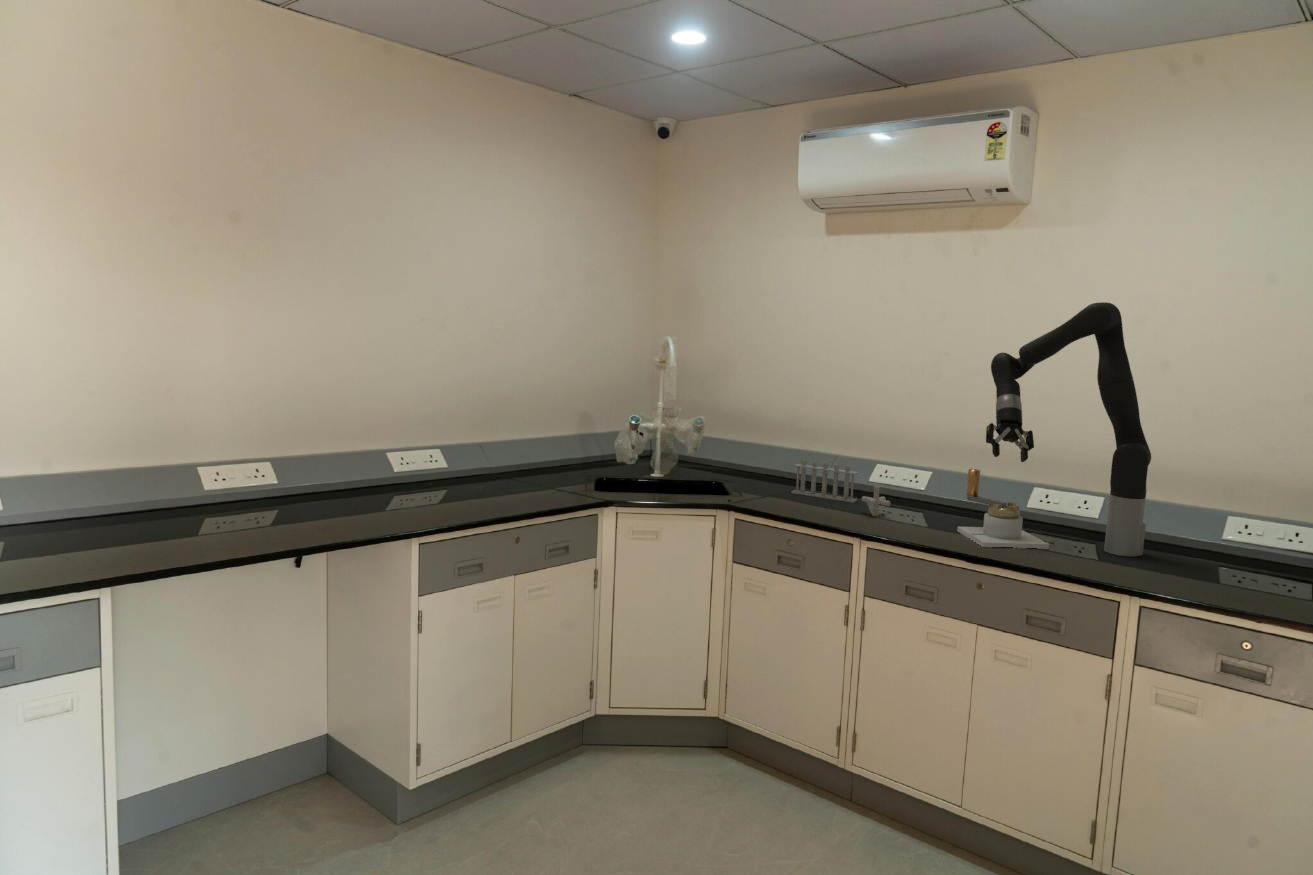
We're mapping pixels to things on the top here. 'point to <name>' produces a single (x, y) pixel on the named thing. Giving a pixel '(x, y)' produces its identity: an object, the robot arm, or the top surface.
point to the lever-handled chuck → (995, 506)
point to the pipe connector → (876, 501)
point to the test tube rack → (825, 481)
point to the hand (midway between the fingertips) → (1010, 458)
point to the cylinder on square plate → (1002, 534)
